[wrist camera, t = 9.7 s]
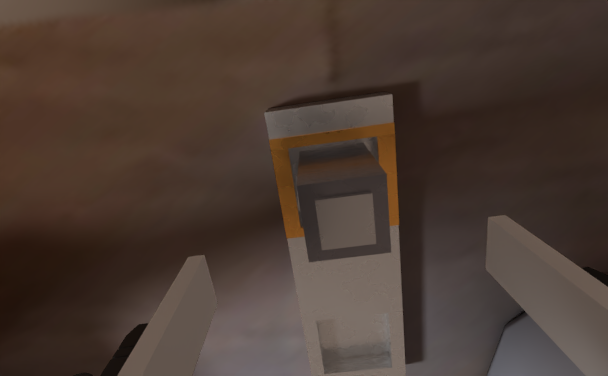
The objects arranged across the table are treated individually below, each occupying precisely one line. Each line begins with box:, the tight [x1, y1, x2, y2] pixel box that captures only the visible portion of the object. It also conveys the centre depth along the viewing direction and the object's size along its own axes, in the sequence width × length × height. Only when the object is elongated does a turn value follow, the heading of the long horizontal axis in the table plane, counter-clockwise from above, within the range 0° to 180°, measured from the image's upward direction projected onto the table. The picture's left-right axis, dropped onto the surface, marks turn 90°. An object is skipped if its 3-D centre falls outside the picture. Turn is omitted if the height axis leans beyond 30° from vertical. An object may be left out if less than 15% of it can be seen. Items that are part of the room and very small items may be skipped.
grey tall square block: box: [297, 143, 391, 262], centre depth 23 cm, size 5×5×8 cm
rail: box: [265, 92, 406, 376], centre depth 29 cm, size 9×28×3 cm, turn 8°
